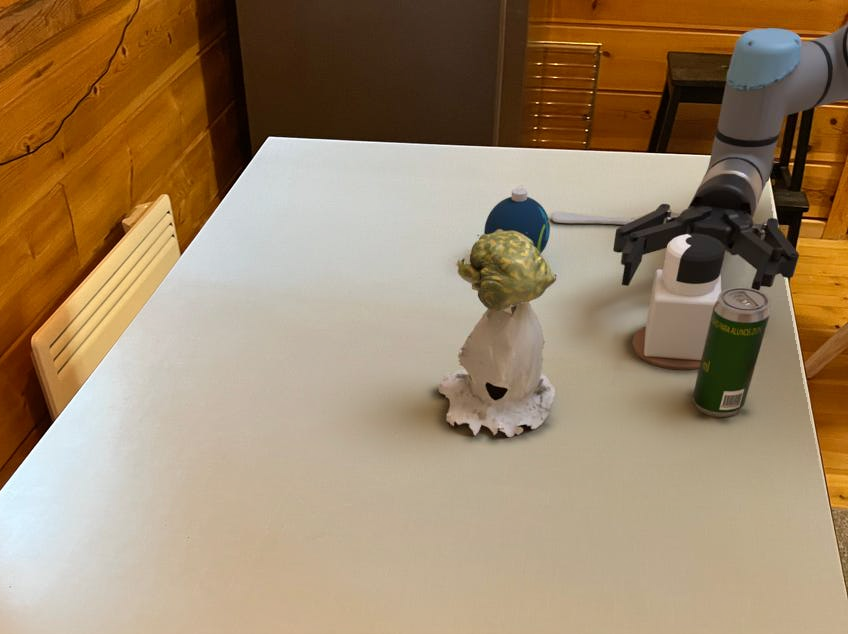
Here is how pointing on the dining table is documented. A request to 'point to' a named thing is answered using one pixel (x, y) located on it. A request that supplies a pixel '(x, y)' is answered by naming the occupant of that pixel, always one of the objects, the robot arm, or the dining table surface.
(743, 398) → the green drink can
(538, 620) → the dining table surface
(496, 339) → the white and green statuette
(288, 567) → the dining table surface
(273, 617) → the dining table surface
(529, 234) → the christmas ornament
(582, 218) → the butter knife
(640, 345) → the coaster
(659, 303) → the medicine bottle
